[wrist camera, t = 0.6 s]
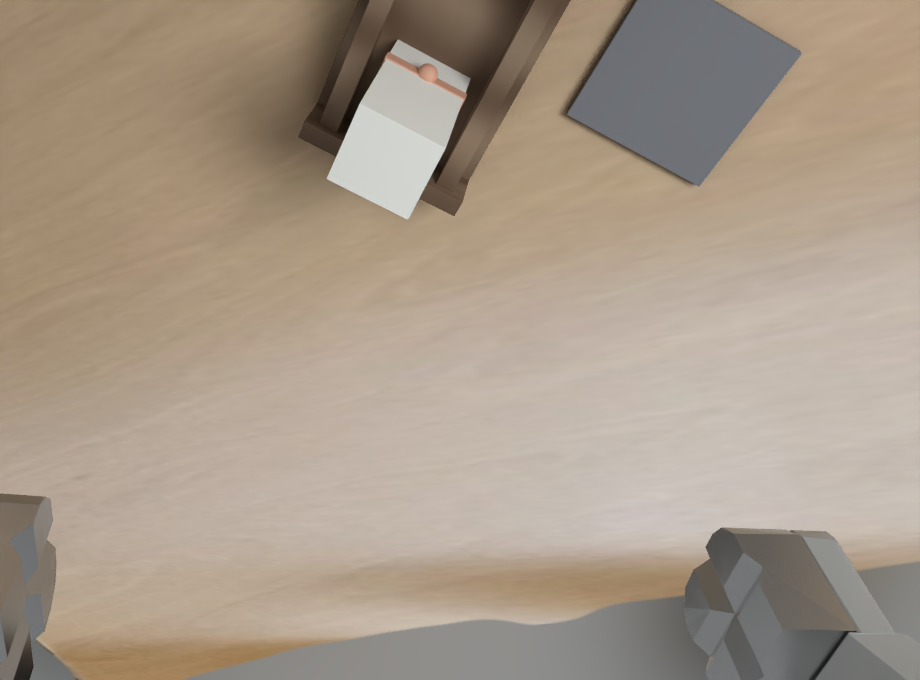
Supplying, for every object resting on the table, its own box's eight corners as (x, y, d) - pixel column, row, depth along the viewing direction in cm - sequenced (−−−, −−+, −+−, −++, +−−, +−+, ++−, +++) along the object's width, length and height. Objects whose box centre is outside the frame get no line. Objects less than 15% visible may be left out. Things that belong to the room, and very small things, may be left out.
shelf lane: (422, -148, 48) (406, -134, 44) (594, -48, 50) (592, -27, 46) (317, 108, 58) (298, 137, 54) (463, 184, 60) (454, 216, 56)
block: (401, 26, 52) (363, 89, 44) (477, 68, 53) (454, 136, 45) (365, 108, 56) (324, 179, 48) (437, 145, 57) (408, 221, 49)
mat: (656, -34, 50) (656, -31, 49) (800, 51, 51) (801, 53, 51) (567, 111, 56) (566, 114, 55) (698, 182, 57) (699, 186, 57)
